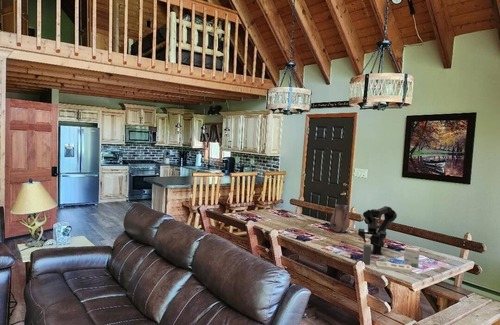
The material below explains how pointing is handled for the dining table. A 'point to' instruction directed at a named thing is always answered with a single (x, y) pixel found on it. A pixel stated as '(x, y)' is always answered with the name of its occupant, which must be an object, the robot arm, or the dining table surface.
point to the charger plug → (366, 254)
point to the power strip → (393, 267)
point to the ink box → (411, 256)
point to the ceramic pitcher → (340, 218)
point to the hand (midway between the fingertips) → (372, 244)
